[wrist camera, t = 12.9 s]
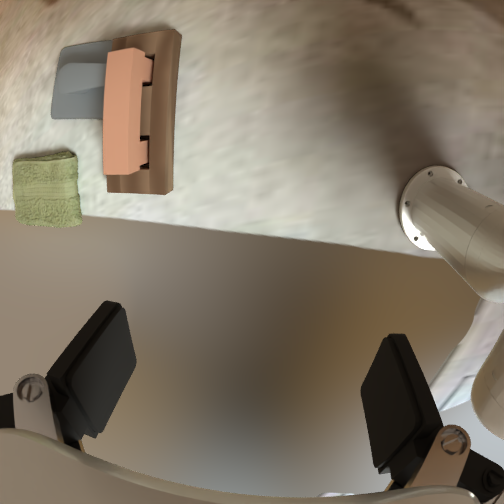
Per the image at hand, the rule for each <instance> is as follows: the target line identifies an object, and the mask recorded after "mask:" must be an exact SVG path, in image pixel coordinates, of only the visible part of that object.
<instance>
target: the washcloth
mask: <svg viewBox="0 0 504 504" xmlns="http://www.w3.org/2000/svg"><path fill="white" fill-rule="evenodd" d="M77 163H78V160H77V156H76V155H72V154H71V153H70V152H69V151H67V152H61V153H57V154H54V155H47V156H44V157H41V158H40V157H37V158H36V157H35V158H31V159H30V158H29V159H27V158H23V159H22V158H21V159H15V160H14V162H13V169H12V174H13V199H14V202H15V207H16V214H15V215H16V216H15V217H16V220H18V221H19V223H22V224H26V225H34V226H35V225H40V226H48V227H52V226H53V227H59V228H61V227H72V226H77V225H80V224H81V223H82V217H81V215H82V214H81V209H80V202H79V201H80V198H79V197H80V196H79V194H78V186H77V179H78V173H77V170H78V168H77V167H78V165H77Z"/></svg>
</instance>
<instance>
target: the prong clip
mask: <svg viewBox="0 0 504 504" xmlns="http://www.w3.org/2000/svg"><path fill="white" fill-rule="evenodd" d="M153 70H154V61H153V60H151V59H148V58H146V57H145V52H143V51H141V50H139V49H136V48H128V49H123V50H117V51H113V52H108V57H107V66H106V77H105V90H104V110H103V170H104V175H129V174H131V173H134V172H136V171H139V170H140V165H143V164H146V163H149V143H150V139H149V140H140V114H141V95H142V84H152V81H153Z"/></svg>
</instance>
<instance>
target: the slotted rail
mask: <svg viewBox="0 0 504 504" xmlns="http://www.w3.org/2000/svg"><path fill="white" fill-rule="evenodd" d="M181 39H182V35H181V34H180V33H178V32H177V31H176V30H175V29H172V30H164V31H156V32H149V33H143V34H137V35H132V36H126V37H121V38H117V39H113V42H112V50H111V52H113V51H117V50H123V49H128V48H136V49H139V50H141V51H143V52H145V57H146V58H148V59H154V70H153V81H152V86H145V87H142V95H141V114H140V136H141V135H150V143H149V166H140V170H139V171H136V172H134V173H131V174H129V175H107V192H111V193H138V194H159V195H166V194H167V193H169V192H170V191H172V190H173V157H174V127H175V108H176V92H177V79H178V68H179V57H180V48H181Z"/></svg>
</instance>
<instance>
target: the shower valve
mask: <svg viewBox="0 0 504 504" xmlns="http://www.w3.org/2000/svg"><path fill="white" fill-rule="evenodd" d="M112 42H113V40H108V41H101V42H93V43H87V44H81V45H75V46H70V47H66V48H64V49H63V50H62V51H61V53H60V57H59V62H58V67H57V73H56V78H55V85H54V91H53V99H52V107H51V117H52V119H103V110H104V90H105V77H106V66H107V57H108V52H111V50H112Z"/></svg>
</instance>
